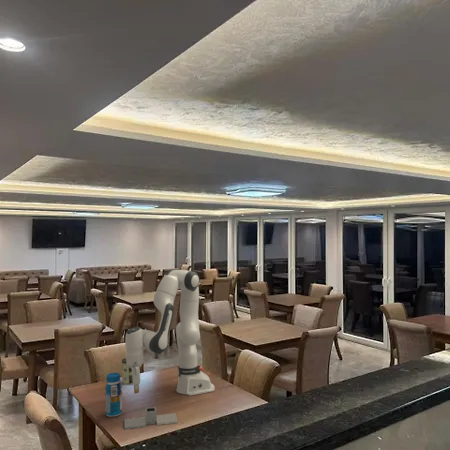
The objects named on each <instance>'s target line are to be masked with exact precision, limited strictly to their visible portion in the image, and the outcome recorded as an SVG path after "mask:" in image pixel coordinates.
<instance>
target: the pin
mask: <svg viewBox="0 0 450 450" xmlns="http://www.w3.org/2000/svg"><path fill="white" fill-rule="evenodd" d="M133 389H134V391H133V393H134V394H135V395H136V394H139V393H140V384H138V389H135V385H134V384H133Z"/></svg>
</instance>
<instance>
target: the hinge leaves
mask: <svg viewBox="0 0 450 450" xmlns="http://www.w3.org/2000/svg"><path fill="white" fill-rule="evenodd" d="M144 413H145V416H141V417H133V418H124V430H131V429H139V428H140V429H141V428H147V426H150V425H156V426H164V425H171V424H178V423H179V421H178V418H177V413H175V412H174V413H173V412H172V413H167V414H159V415H158V414H157V413H158V412H157V407H156V406H153V407H146V408H144ZM156 423H157V424H156ZM163 424H164V425H163Z"/></svg>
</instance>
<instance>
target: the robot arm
mask: <svg viewBox="0 0 450 450" xmlns="http://www.w3.org/2000/svg"><path fill="white" fill-rule="evenodd" d="M199 284H200V276H199V274H198V273H197V272H195V271H192V270H186V269H169V270H168V271H167V272H166V273H165V275H164V276H163V278H162V279H161V280H160V282H159V284H158V286H157V288H156V290H155V294H154V296H153V304H154V307H155V308H156V309H157V310H158V311H159V312H160V314H161V316H160V317H161V318H160V321H159V326H158V330H157V331H152V330H151V331H150V330H145V329H142V328H141V327H139V326H135V327H131V328H129V329H127V331H126V333H125V349H126V353H125V358H126V363H127V365H128V366H129V368H131V369H132V379H133V384H132V385H133V386H134V385H135V389H138V384H139V385H140V384H141V372H140V368H141V367H142V366H143V364H144V363H145V355H144V353H145V352H144V351H149V352H152V353H154V354H158V355H159V354H162V353H164V352H165V350H166V349H167V348H168V346H169V340H170V339H169V338H170V332H171V329H172V328H171V327H172V322H173V319H174V315H175V306H174V303H175V299H176V296H177V292H178V290H181V292H180V301H179V318H180V322H178V323H177V325H176V327H175V334H176V343H177V344H176V345H177V352H178V353H177V354H178V366H177V375H178V377H177V378H178V380H177V386H176V392H177V393H178V394H181V395H187V396H189V397H191V396H196V395H200V394H201V395H202V394H207V393H213V392H214V391H215V390H216V388H215V385H214V384H213V383H212V382H211V378H210V377H209V376H208V375H207V374H206V373H205V372H203V370H204V368H203V367H202V366H201V365H200V364H199V363H198V350H197V346H196V345H197V344H198V343H199V341H200V339H201V333H200V332H201V331H200V321H199V304H200V290H199V289H200V288H199Z"/></svg>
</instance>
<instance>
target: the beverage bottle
mask: <svg viewBox="0 0 450 450" xmlns="http://www.w3.org/2000/svg"><path fill="white" fill-rule="evenodd" d="M120 381H121V374H120V373H118V372H111V373H108V374H107V375H106V382H107V384H106V385H105V388H104V390H105V393H104V397H105V401H104V402H105V416H107V417H112V418H113V417H118V416H120V415H121V414H122V413H123V401H122V400H123V397H122V395H123V390H122V388H123V387H122V384H121V382H120Z"/></svg>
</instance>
